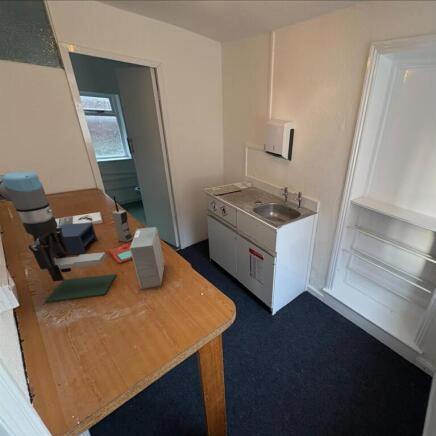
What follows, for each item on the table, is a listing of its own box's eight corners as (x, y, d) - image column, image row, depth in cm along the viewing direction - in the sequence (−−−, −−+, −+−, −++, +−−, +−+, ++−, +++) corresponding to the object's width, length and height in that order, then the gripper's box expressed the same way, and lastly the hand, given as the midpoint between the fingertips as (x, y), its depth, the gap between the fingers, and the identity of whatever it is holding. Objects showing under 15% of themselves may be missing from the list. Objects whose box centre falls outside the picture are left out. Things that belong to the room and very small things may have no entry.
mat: (45, 303, 83) (45, 301, 83) (64, 281, 93) (63, 279, 93) (105, 295, 88) (104, 293, 88) (116, 275, 99) (116, 273, 98)
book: (49, 232, 125) (48, 229, 124) (51, 222, 135) (50, 219, 134) (103, 222, 139) (102, 219, 138) (101, 214, 148) (100, 211, 148)
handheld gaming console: (128, 242, 120) (140, 254, 111) (128, 244, 120) (141, 256, 112) (107, 249, 113) (118, 262, 105) (107, 251, 113) (119, 264, 105)
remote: (40, 271, 81) (37, 266, 80) (49, 263, 86) (46, 257, 85) (101, 264, 86) (99, 259, 85) (106, 257, 91) (104, 252, 90)
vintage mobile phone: (127, 242, 122) (116, 197, 111) (119, 241, 122) (107, 196, 112) (133, 239, 125) (122, 195, 115) (125, 237, 126) (113, 194, 115)
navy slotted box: (53, 256, 107) (45, 238, 103) (69, 241, 119) (62, 224, 115) (84, 254, 110) (78, 235, 106) (97, 239, 122) (92, 222, 118)
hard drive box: (145, 267, 105) (137, 228, 97) (164, 264, 108) (157, 226, 99) (140, 290, 92) (129, 247, 84) (161, 286, 95) (153, 244, 86)
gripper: (35, 230, 70) (61, 290, 80) (67, 208, 85) (86, 261, 95) (3, 232, 68) (34, 293, 78) (41, 209, 83) (63, 263, 93)
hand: (62, 275), depth 86 cm, fingers closed on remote, 5 cm apart
